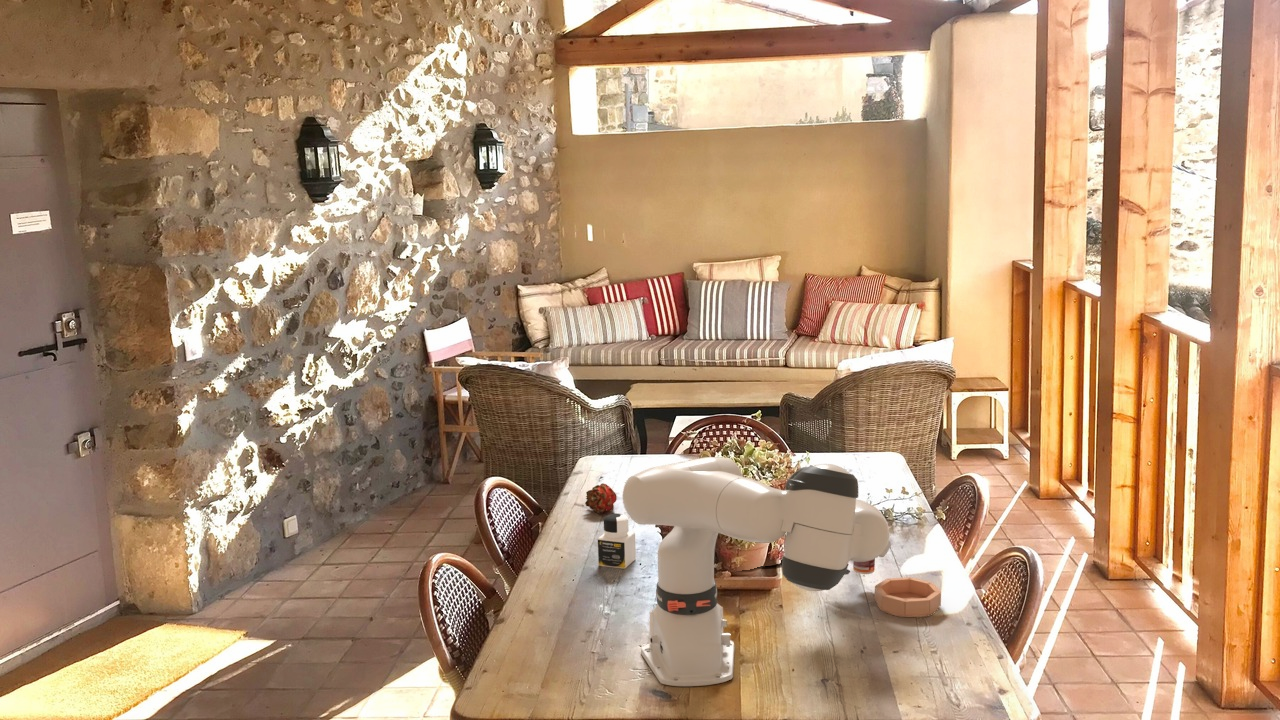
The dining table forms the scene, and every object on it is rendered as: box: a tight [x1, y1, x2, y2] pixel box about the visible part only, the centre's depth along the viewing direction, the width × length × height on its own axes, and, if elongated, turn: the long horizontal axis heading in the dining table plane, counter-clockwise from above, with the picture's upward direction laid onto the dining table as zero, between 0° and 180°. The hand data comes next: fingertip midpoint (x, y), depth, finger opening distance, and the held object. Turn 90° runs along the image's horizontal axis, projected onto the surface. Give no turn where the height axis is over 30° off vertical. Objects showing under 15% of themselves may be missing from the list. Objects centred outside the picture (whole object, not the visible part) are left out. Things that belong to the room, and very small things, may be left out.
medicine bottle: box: [597, 513, 637, 570], centre depth 268 cm, size 7×7×12 cm
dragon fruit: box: [584, 482, 618, 515], centre depth 309 cm, size 8×8×12 cm
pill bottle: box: [852, 558, 876, 575], centre depth 248 cm, size 5×5×8 cm
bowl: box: [874, 576, 942, 618], centre depth 238 cm, size 13×13×4 cm
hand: (866, 550), depth 248 cm, fingers closed on pill bottle, 5 cm apart
